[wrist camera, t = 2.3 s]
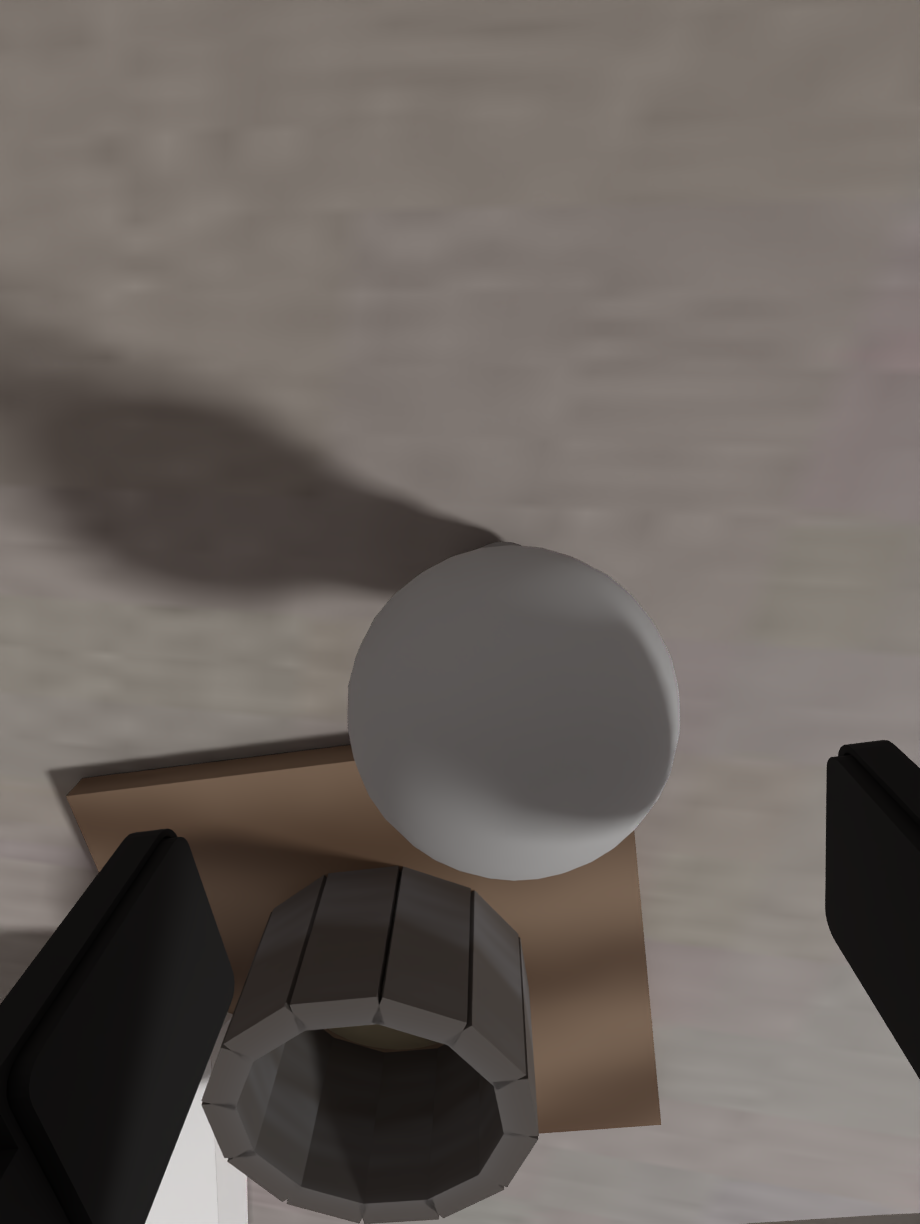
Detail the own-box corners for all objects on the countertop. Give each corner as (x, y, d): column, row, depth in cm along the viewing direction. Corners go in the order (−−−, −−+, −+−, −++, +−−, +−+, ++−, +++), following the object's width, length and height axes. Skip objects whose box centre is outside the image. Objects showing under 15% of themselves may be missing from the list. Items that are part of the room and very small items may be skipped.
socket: (82, 778, 24) (-42, 913, 18) (618, 711, 22) (663, 837, 17) (230, 1130, 30) (171, 1311, 25) (655, 1098, 29) (696, 1284, 23)
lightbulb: (370, 627, 21) (264, 892, 11) (442, 436, 19) (393, 549, 9) (553, 696, 22) (612, 1007, 12) (643, 519, 20) (810, 711, 10)
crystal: (268, 1417, 32) (267, 1045, 23) (90, 1528, 29) (10, 1142, 20) (234, 1239, 38) (222, 890, 29) (83, 1314, 35) (19, 945, 26)
